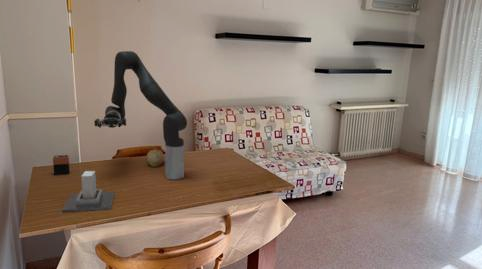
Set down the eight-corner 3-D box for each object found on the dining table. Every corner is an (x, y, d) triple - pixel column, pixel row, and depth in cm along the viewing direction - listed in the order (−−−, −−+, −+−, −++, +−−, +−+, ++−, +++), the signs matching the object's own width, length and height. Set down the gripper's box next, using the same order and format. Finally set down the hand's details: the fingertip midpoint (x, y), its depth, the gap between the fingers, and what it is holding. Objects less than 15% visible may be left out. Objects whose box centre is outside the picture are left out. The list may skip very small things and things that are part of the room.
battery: (69, 174, 176) (67, 155, 174) (54, 175, 173) (52, 156, 171) (69, 171, 180) (68, 153, 178) (55, 172, 177) (53, 153, 175)
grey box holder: (114, 193, 156) (114, 186, 155) (110, 209, 141) (110, 201, 140) (70, 195, 151) (70, 188, 150) (62, 212, 136) (61, 204, 135)
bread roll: (162, 159, 207) (162, 146, 205) (165, 167, 193) (165, 153, 192) (145, 160, 204) (145, 147, 202) (147, 168, 190) (147, 154, 189)
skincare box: (86, 197, 148) (84, 170, 145) (97, 196, 149) (95, 170, 146) (82, 203, 142) (80, 175, 140) (93, 202, 143) (91, 175, 140)
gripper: (97, 111, 173) (92, 117, 158) (126, 111, 177) (125, 117, 162) (98, 126, 175) (93, 133, 160) (127, 125, 179) (125, 132, 164)
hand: (109, 125), depth 161 cm, fingers open, 8 cm apart
